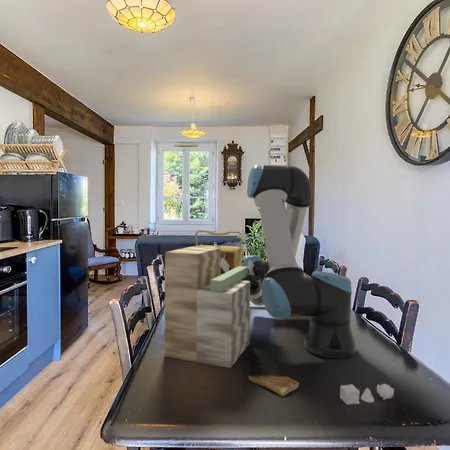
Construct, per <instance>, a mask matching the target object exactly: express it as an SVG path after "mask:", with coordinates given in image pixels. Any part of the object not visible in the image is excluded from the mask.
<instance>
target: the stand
mask: <svg viewBox="0 0 450 450" xmlns="http://www.w3.org/2000/svg"><path fill="white" fill-rule="evenodd" d="M164 253H165V257H164V258H165V259H164V261H165V263H164V266H165V267H164V270H165V272H164V274H165V275H164V276H165V277H164V357H167V358H172V359H176V360H177V359H178V360H182V361H189V362H193V363H194V362H195V363H199V364H206V365H211V366H217V367H223V368H228V369H231V368H232V367H233V365H234V364H235V363H236V362H237V360H238V359H239V358H240V356H241V355H242V354H243V352H244V351H245V350H246V349H247V347H248V346H249V345H250V320H251V319H250V315H251V314H250V313H251V312H250V311H251V309H250V307H251V306H250V305H251V301H250V281H241V280H240V281H238V282H236V283H235V284H233V285H232V286H230V287H228V288H227V289H225V290H223V291H222V292H217V291H210V280H211V279H213V278H215V277H218V276H220V273H221V266H220V265H221V248H214V247H196V245H195V246H189V247H188V246H187V247H183V248H177V249H174V250H170V251H165V252H164Z"/></svg>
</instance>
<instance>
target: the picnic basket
mask: <svg viewBox="0 0 450 450" xmlns="http://www.w3.org/2000/svg"><path fill="white" fill-rule="evenodd" d="M198 233H207V234H209V235H212V236H226V235H229V234H238V235H239V236H240V235H241V234H242V232H240V231H234V230H229V231H224V232H213V231H211V230H202V229H201V230H197V231H196V232H195V235H194V237H195V238H194V239H195V246H196V247H214V248H221V260H222V258H224V259H225V260H226V262H227V263H228V264H229V266H230V268H231V269H234V268H236V267H238V266H243V265H244V254H245V253H244V252H245V250H244V251H243V248H244V249H245V247H244V245H242V244H243V242H242V243H241V241H240V240H239V245H238V246H234V245H231V246H230V245H208V244H205V245H204V244H199V241H198ZM242 235H243V234H242ZM220 275H221V274H220Z"/></svg>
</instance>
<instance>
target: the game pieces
mask: <svg viewBox="0 0 450 450" xmlns="http://www.w3.org/2000/svg"><path fill="white" fill-rule="evenodd" d="M394 390H395V388H393V387H391V386H390V385H389V384H387V383H382V384H381V385H380V384H379V383H378V384H377V386H376V393H377V394H378V395H379V397H381V398H382V399H383V400H384V401H385V400H387V399H389V400H391V399H392V398H393V397H394V392H395V391H394ZM360 394H361V393H360V390H359V389H358V388H356V387H355V385H354V384H344V385H343V384H341V385H340V386H339V399H341V400H342V401H343V403H345V405H347V406H348V405H359V404H360V403H361V402H360V399H361V400H362V401H363V402H365V403H374V402H375V398H374V397H373V395H372V392H371V390H370V389H369V387H367V388H365V389H364V392H363V393H362V394H361V397H360Z"/></svg>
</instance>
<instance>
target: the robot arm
mask: <svg viewBox="0 0 450 450" xmlns="http://www.w3.org/2000/svg"><path fill="white" fill-rule="evenodd" d="M246 187H247V188H246V193H247V194H246V195H247V197H248V198H250V199H253V202H254V205H255V206H256V207H258V208H259V212H260V219H261V224H262V230H263V231H262V232H263V236H264V243H265V250H266V256H267V260H265V261H263V259H262V258H261V256H259V255H255V254H254V255H249V256H247V257H245V258H244V259H243V266H245V267H247V268H248V276H246V277H245V278H243V279H241V281H250V303H252V304H253V305H254V306H258V307H260V306H264V307H265V310H266V312H267V313H268V314H269V316H271V317H273V318H276V319H277V318H280V319H281V318H283V319H288V318H302V317H303V318H305V317H308V318H309V317H310V323H309V325H308V328H307V331H306V334H305V336H304V343H303V344H304V348H305V349H306V351H308V352H309V353H311V354H313V355H316V356H320V357H324V358H327V359H330V358H331V359H347V358H350V357H353V356H354V355H355V354H356V352H357V345H356V342H355V337H354V333H353V330H352V327H351V315H352V313H351V309H352V294H353V291H352V282H351V280H350V278H348V277H347V276H344V275H341V274H338V273H337V274H336V273H332V272H325V271H318V270H317V271H312V272H311V277H310V276H307V277H306V276H305V274H304V269H303V268H302V267H300V266H299V265H298V263H297V258H296V256H297V251H298V248H299V247H298V246H299V243H300V238H301V235H302V231H303V226H304V222H305V217H306V213H307V211H308V210H307V209H308V208H310V206H311V203H312V200H313V188H312V184H311V181H310V179H309V177H308V175H307V174H306V173H305V172H304V171H303V169H301V168H299V167H297V166H292V165H267V164H266V165H265V164H261V165H260V164H259V165H258V164H257V165H254V166H252V167H251V169H250V171H249V175H248V180H247V186H246ZM285 204H286V206H285ZM220 266H221V273H220V274H221V275H222V274H224V273H226V272H228V271H230V270H232V269H231V268H230V266H229V264H228V263H227V262H226V260H225V259H224V258H222V260H221V265H220Z"/></svg>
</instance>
